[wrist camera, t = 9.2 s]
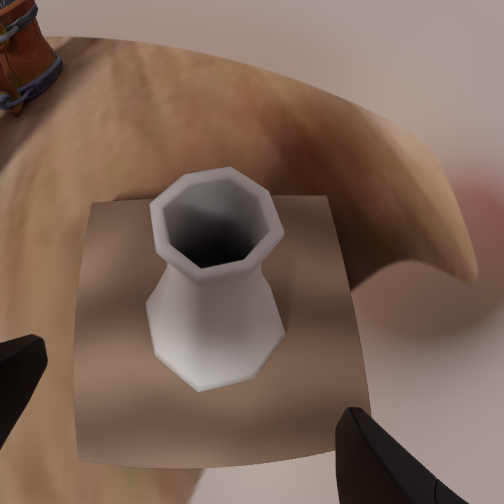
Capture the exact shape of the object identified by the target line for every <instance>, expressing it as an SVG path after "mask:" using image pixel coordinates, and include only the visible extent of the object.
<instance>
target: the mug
mask: <svg viewBox="0 0 504 504" xmlns="http://www.w3.org/2000/svg"><path fill="white" fill-rule="evenodd" d="M37 12H38V7H37V5H36V3H35V2H34V0H0V109H1V110H6V109H9V108H12V107H13V108H12V111H11V113H12V114H13V115H14V116H17V115H20V112H21V110H22V107H23V103H25V102H27V101H28V100H30V99H32V98H34V97H36V96H38V95H39V94H41V93H42V92H43V91H44V90H45V89H46V88H48V87H49V86H50V85H51V84H52V83H53V82H54V81H55V80H56V78H57V76H58V74H59V72H60V70H61V68H62V65H63V62H62V59H61V57H60V55H59V53H58V52H54V50H53V49H52V48H51V47H50V45H49V44H48V43H47V41H46V40H45V39H44V37H43V36H42V34H41V31H40V28H39V26H38V22H37V20H36V16H37Z"/></svg>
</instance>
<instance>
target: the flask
mask: <svg viewBox="0 0 504 504" xmlns="http://www.w3.org/2000/svg"><path fill="white" fill-rule="evenodd" d="M150 212H151V220H152V227H153V234H154V241H155V248H156V252H157V254H158V255H159V256H160V257H162V258H163V259H164V260H165V261H166V262H167V268H166V270H165V272H164V274H163V276H162V277H161V279H160V281H159V283H158V285H157V286H156V288H155V290H154V291H153V292H152V294H151V295H150V297H149V298H148V300H147V301H146V303H145V306H146V312H147V318H148V323H149V329H150V334H151V339H152V344H153V349H154V353H155V356H156V357H157V358H158V359H159V360H160V361H162V362H163V363H164V364H165V365H166V366H167V367H168V368H170V369H171V370H172V371H173V372H174V373H175V374H177V375H178V376H179V377H180V378H181V379H183V380H184V381H185V382H186V383H187V384H189V385H190V386H191V387H192V388H194V389H195V390H196V391H197V392H201V391H206V390H210V389H215V388H219V387H223V386H227V385H231V384H235V383H239V382H243V381H247V380H250V379H254V378H255V376H256V375H257V374H258V372H259V371H260V370H261V369H262V367H263V366H264V365H265V363H266V362H267V361H268V359H269V358H270V357H271V356H272V354H273V353H274V352H275V350H276V349H277V348H278V346H279V345H280V344H281V342H282V341H283V339H284V338H285V337H286V333H285V330H284V327H283V324H282V321H281V318H280V315H279V312H278V309H277V306H276V303H275V300H274V297H273V294H272V290H271V287H270V285H269V283H268V282H267V280H266V279H265V278H264V276H263V275H262V270H261V264H262V262H263V260H264V259H265V258H266V257H267V256H268V255H269V253H270V252H271V251H272V250H273V249H274V247H275V246H276V245H277V244H278V243H279V241H280V240H281V239H282V238H283V236H284V233H285V232H284V229H283V226H282V224H281V221H280V219H279V216H278V214H277V211H276V208H275V206H274V203H273V201H272V198H271V196H270V193H269V191H268V190H266V189H265V188H263V187H262V186H260V185H259V184H257V183H256V182H254V181H253V180H251V179H249V178H248V177H246V176H245V175H243V174H242V173H240V172H238V171H237V170H235V169H234V168H232V167H225V168H218V169H212V170H206V171H200V172H194V173H188V174H184V175H183V176H181V177H180V178H179V179H178V180H177V181H175V182H174V183H173V184H172V185H171V186H170V187H168V188H167V189H166V190H165V191H164V192H163V193H161V194H160V195H159V196H158V197H157V198H156V199H154V200H153V201H152V202H151V203H150Z"/></svg>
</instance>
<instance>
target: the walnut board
mask: <svg viewBox="0 0 504 504" xmlns="http://www.w3.org/2000/svg"><path fill="white" fill-rule="evenodd" d="M270 196H271V198H272V201H273V203H274V206H275V208H276V211H277V214H278V216H279V219H280V221H281V224H282V226H283V229H284V232H285V233H284V236H283V238H282V239H281V240H280V241H279V243H278V244H277V245H276V246H275V247H274V249H273V250H272V251H271V252H270V253H269V255H268V256H267V257H266V258H265V259H264V260H263V262H262V264H261V270H262V275H263V276H264V278H265V279H266V280H267V282H268V283H269V285H270V287H271V290H272V294H273V297H274V300H275V303H276V306H277V309H278V312H279V315H280V318H281V321H282V324H283V327H284V330H285V333H286V337H285V338H284V339H283V341H282V342H281V344H280V345H279V346H278V348H277V349H276V350H275V352H274V353H273V354H272V356H271V357H270V358H269V359H268V361H267V362H266V363H265V365H264V366H263V367H262V369H261V370H260V371H259V372H258V374H257V375H256V376H255V378H254V379H250V380H247V381H243V382H239V383H235V384H231V385H227V386H223V387H219V388H215V389H210V390H206V391H201V392H197V391H196V390H195V389H194V388H192V387H191V386H190V385H189V384H187V383H186V382H185V381H184V380H183V379H181V378H180V377H179V376H178V375H177V374H175V373H174V372H173V371H172V370H171V369H170V368H168V367H167V366H166V365H165V364H164V363H163V362H162V361H160V360H159V359H158V358H157V357H156V356H155V353H154V349H153V344H152V339H151V334H150V329H149V323H148V318H147V312H146V306H145V303H146V301H147V300H148V298H149V297H150V295H151V294H152V292H153V291H154V290H155V288H156V286H157V285H158V283H159V281H160V279H161V277H162V276H163V274H164V272H165V270H166V268H167V262H166V261H165V260H164V259H163V258H162V257H160V256H159V255H158V254H157V252H156V248H155V241H154V234H153V227H152V220H151V212H150V203H151V202H152V201H153V200H154V199H139V200H123V201H109V202H96V203H92V205H91V209H90V214H89V220H88V225H87V230H86V236H85V242H84V248H83V255H82V262H81V269H80V277H79V285H78V295H77V306H76V319H75V336H74V407H75V424H76V436H77V447H78V456H79V460H80V461H86V462H93V463H101V464H109V465H119V466H130V467H145V468H214V467H215V468H216V467H230V466H243V465H252V464H261V463H269V462H276V461H283V460H289V459H294V458H301V457H306V456H311V455H316V454H320V453H325V452H330V451H334V450H335V429H336V426H337V424H338V422H339V420H340V418H341V416H342V414H343V412H344V411H345V409H346V408H347V407H359V408H362V409H363V410H364V411H365V412H366V413H367V414H368V415H369V416H370V417H371V418H372V416H371V408H370V401H369V393H368V386H367V380H366V373H365V367H364V361H363V355H362V349H361V343H360V337H359V332H358V327H357V322H356V316H355V311H354V306H353V302H352V297H351V292H350V287H349V283H348V278H347V274H346V270H345V265H344V261H343V257H342V253H341V249H340V245H339V241H338V237H337V233H336V229H335V225H334V221H333V217H332V214H331V210H330V206H329V203H328V199H327V196H310V195H270Z"/></svg>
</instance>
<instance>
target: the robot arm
mask: <svg viewBox="0 0 504 504" xmlns="http://www.w3.org/2000/svg"><path fill="white" fill-rule="evenodd" d="M47 363H48V358H47V353H46V347H45V342H44V340H43V338H41V337H39V336H37V335H34V334H30V335H27V336H23V337H20V338H16V339H13V340H9V341H6V342H2V343H0V450H1V448H2V446H3V444H4V443H5V441H6V439H7V437H8V436H9V434H10V432H11V430H12V429H13V427H14V425H15V424H16V422H17V420H18V419H19V417H20V415H21V414H22V412H23V411H24V409H25V407H26V406H27V404H28V402H29V400H30V398H31V396H32V394H33V392H34V390H35V388H36V386H37V384H38V382H39V380H40V378H41V376H42V374H43V373H44V371H45V369H46V367H47ZM335 451H336V478H337V479H336V480H337V487H338V495H339V502H340V504H469V503H467V502H466V501H465V500H463V499H462V498H460V497H459V496H458V495H457V494H455V493H454V492H453V491H452V490H450V489H449V488H448V487H447V486H446V485H445V484H443V483H442V482H441V481H440V480H439V479H436V477H435V476H434V475H433V474H432V473H431V472H430V471H429V470H428V469H426V468H425V467H424V466H423V465H422V464H421V463H420V462H419V461H418V460H416V459H415V458H414V457H413V456H412V455H411V454H410V453H409V452H408V451H407V450H405V449H404V448H403V447H402V446H401V445H400V444H399V443H398V442H397V441H396V440H395V439H393V438H392V437H391V436H390V435H389V434H388V433H387V432H386V431H385V430H384V429H383V428H382V427H381V426H379V425H378V423H376V422H375V421H374V420H373V419H372V418H371V417H370V416H369V415H368V414H367V413H366V412H365V411H364V410H363V409H362V408H359V407H347V408H346V409H345V411H344V412H343V414H342V416H341V418H340V420H339V422H338V424H337V426H336V429H335Z"/></svg>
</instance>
